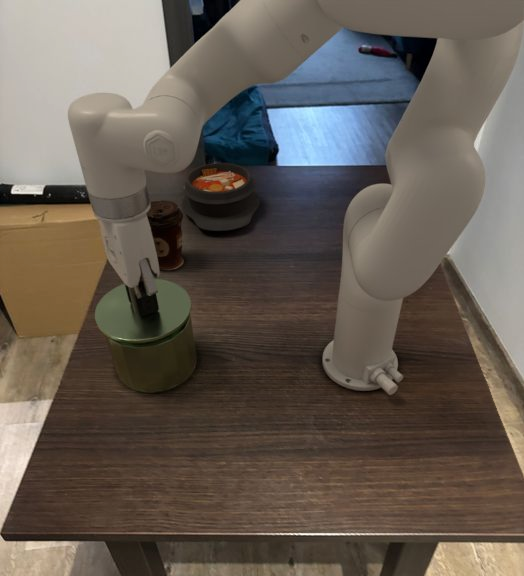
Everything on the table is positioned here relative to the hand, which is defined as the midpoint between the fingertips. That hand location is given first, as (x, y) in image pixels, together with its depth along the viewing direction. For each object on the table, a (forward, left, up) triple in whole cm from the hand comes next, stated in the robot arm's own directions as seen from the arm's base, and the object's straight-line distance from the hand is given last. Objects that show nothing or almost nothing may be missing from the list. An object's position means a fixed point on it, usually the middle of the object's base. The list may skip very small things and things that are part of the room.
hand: (143, 305), depth 82 cm
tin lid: (0, 0, -1) cm, 1 cm away
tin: (0, 0, -13) cm, 13 cm away
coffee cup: (+26, -14, -13) cm, 32 cm away
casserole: (+39, -34, -13) cm, 53 cm away
